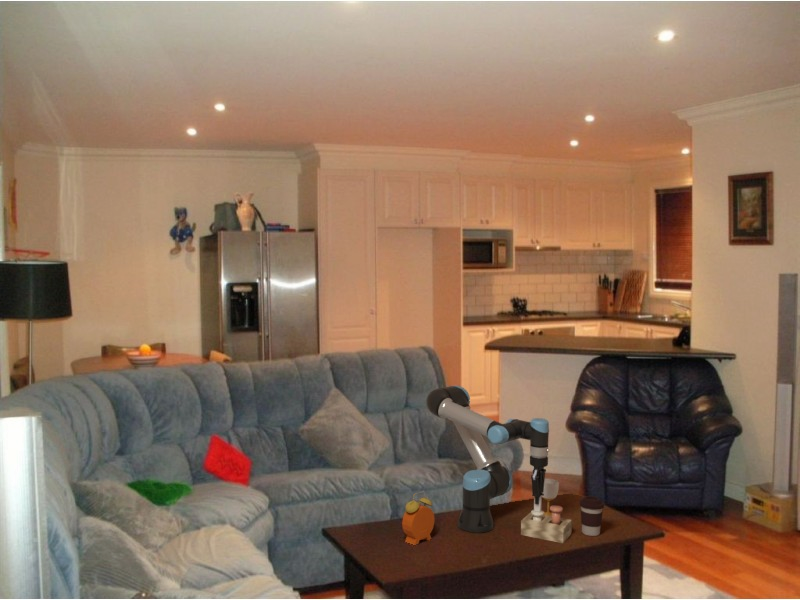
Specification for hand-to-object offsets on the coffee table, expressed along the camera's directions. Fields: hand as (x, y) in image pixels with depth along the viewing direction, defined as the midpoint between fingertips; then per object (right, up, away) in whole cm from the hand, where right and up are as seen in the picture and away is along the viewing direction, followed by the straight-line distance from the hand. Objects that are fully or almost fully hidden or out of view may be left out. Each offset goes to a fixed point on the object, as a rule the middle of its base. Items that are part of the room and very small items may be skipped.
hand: (537, 511), depth 314 cm
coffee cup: (+23, -10, +1) cm, 25 cm away
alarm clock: (-51, -9, -11) cm, 53 cm away
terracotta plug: (+7, -6, -3) cm, 10 cm away
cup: (+9, -9, +21) cm, 24 cm away
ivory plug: (0, -8, +1) cm, 8 cm away
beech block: (+3, -9, -1) cm, 10 cm away
